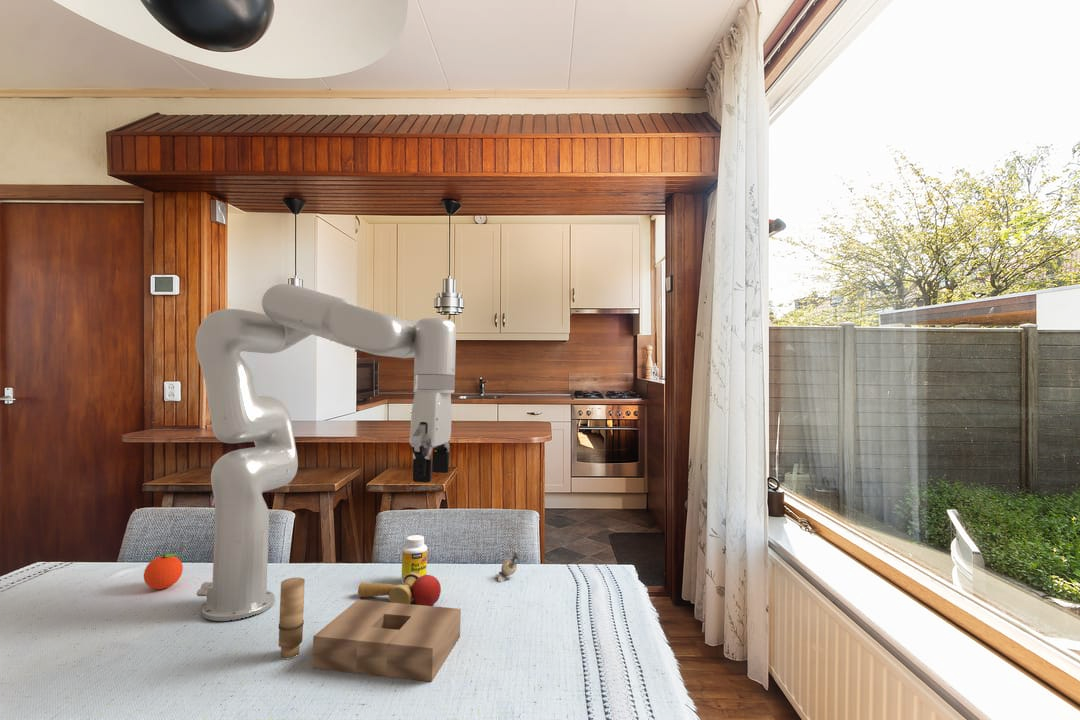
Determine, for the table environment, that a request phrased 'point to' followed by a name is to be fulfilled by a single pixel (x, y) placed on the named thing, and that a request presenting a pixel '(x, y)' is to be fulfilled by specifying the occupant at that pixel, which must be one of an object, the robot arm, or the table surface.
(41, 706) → the table surface
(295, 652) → the oak peg
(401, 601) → the kendama
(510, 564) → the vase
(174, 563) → the clementine
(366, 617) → the seat board
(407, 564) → the supplement bottle
